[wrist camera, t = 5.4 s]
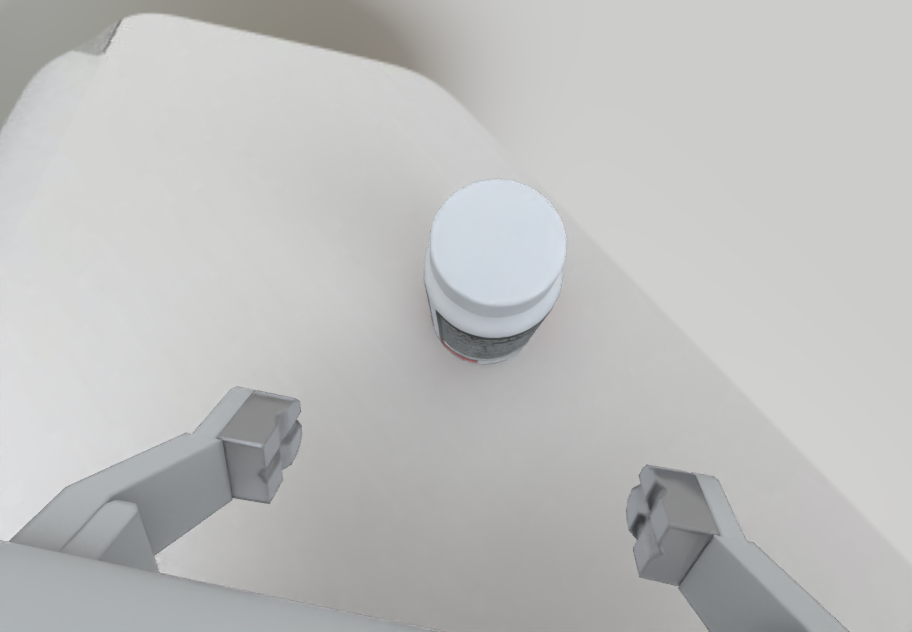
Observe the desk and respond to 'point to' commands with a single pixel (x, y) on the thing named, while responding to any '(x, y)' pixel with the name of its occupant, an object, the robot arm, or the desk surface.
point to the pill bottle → (493, 268)
